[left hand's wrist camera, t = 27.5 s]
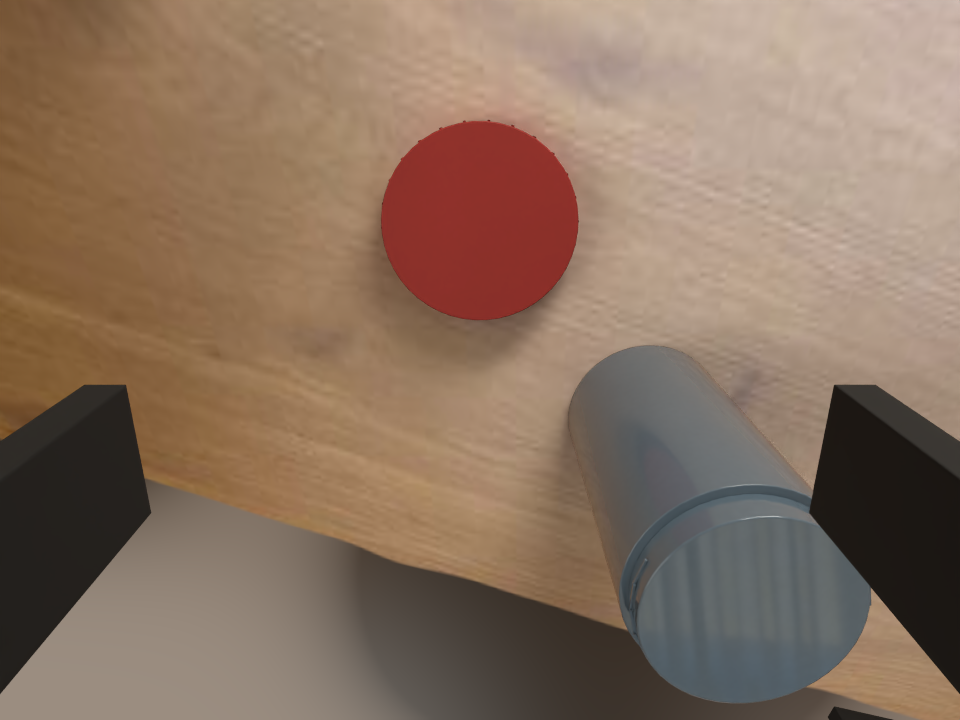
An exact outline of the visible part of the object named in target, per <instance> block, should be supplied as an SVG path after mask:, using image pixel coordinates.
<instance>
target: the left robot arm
mask: <svg viewBox="0 0 960 720" xmlns="http://www.w3.org/2000/svg"><path fill="white" fill-rule="evenodd" d="M150 514H151V510H150V505H149V500H148V494H147V489H146V484H145V479H144V474H143V469H142V464H141V459H140V454H139V449H138V444H137V439H136V434H135V429H134V424H133V419H132V413H131V408H130V403H129V398H128V393H127V388H126V385H84V386H82V387H81V388H79V389H78V390H76V391H75V392H73V393H72V394H70V395H69V396H67V397H66V398H64V399H63V400H61V401H60V402H58V403H57V404H55V405H54V406H52V407H51V408H49V409H48V410H47V411H45V412H44V413H42V414H41V415H39V416H38V417H36V418H35V419H33V420H32V421H30V422H29V423H27V424H26V425H24V426H23V427H21V428H20V429H18V430H17V431H15V432H14V433H12V434H11V435H9V436H8V437H6V438H5V439H3V440H2V441H0V694H1V692H2V691H3V690H4V689H5V688H6V686H7V685H8V684H9V683H10V682H11V680H12V679H13V678H14V677H15V676H16V674H17V673H18V672H19V671H20V670H21V668H22V667H23V666H24V665H25V664H26V662H27V661H28V660H29V659H30V658H31V656H32V655H33V654H34V653H35V652H36V650H37V649H38V648H39V647H40V646H41V644H42V643H43V642H44V641H45V640H46V638H47V637H48V636H49V635H50V634H51V632H52V631H53V630H54V629H55V628H56V626H57V625H58V624H59V623H60V622H61V620H62V619H63V618H64V617H65V616H66V614H67V613H68V612H69V611H70V610H71V608H72V607H73V606H74V605H75V604H76V602H77V601H78V600H79V599H80V598H81V596H82V595H83V594H84V593H85V592H86V590H87V589H88V588H89V587H90V586H91V584H92V583H93V582H94V581H95V580H96V578H97V577H98V576H99V575H100V574H101V572H102V571H103V570H104V569H105V568H106V566H107V565H108V564H109V563H110V562H111V560H112V559H113V558H114V557H115V556H116V554H117V553H118V552H119V551H120V550H121V548H122V547H123V546H124V545H125V544H126V542H127V541H128V540H129V539H130V538H131V536H132V535H133V534H134V533H135V532H136V530H137V529H138V528H139V527H140V526H141V524H142V523H143V522H144V521H145V520H146V518H147V517H148V516H149V515H150ZM809 514H810V515H811V516H812V517H813V519H814V520H815V521H816V522H817V523H818V525H819V526H820V527H821V528H822V529H823V530H824V532H825V533H826V534H827V535H828V536H829V538H830V539H831V540H832V541H833V542H834V544H835V545H836V546H837V547H838V548H839V550H840V551H841V552H842V553H843V554H844V556H845V557H846V558H847V559H848V560H849V562H850V563H851V564H852V565H853V566H854V568H855V569H856V570H857V571H858V572H859V574H860V575H861V576H862V577H863V578H864V580H865V581H866V582H867V583H868V584H869V586H870V587H871V588H872V589H873V590H874V592H875V593H876V594H877V595H878V596H879V598H880V599H881V600H882V601H883V602H884V604H885V605H886V606H887V607H888V608H889V610H890V611H891V612H892V613H893V614H894V616H895V617H896V618H897V619H898V620H899V622H900V623H901V624H902V625H903V626H904V628H905V629H906V630H907V631H908V632H909V634H910V635H911V636H912V637H913V638H914V640H915V641H916V642H917V643H918V644H919V646H920V647H921V648H922V649H923V650H924V652H925V653H926V654H927V655H928V656H929V658H930V659H931V660H932V661H933V662H934V664H935V665H936V666H937V667H938V668H939V670H940V671H941V672H942V673H943V674H944V676H945V677H946V678H947V679H948V680H949V682H950V683H951V684H952V685H953V686H954V688H955V689H956V690H957V691H958V692H959V694H960V441H958V440H957V439H955V438H954V437H952V436H951V435H949V434H948V433H946V432H945V431H943V430H942V429H940V428H939V427H937V426H936V425H934V424H933V423H931V422H930V421H928V420H927V419H925V418H924V417H922V416H921V415H919V414H918V413H916V412H915V411H913V410H912V409H911V408H909V407H908V406H906V405H905V404H903V403H902V402H900V401H899V400H897V399H896V398H894V397H893V396H891V395H890V394H888V393H887V392H885V391H884V390H882V389H881V388H879V387H878V386H876V385H834V388H833V393H832V398H831V403H830V408H829V413H828V419H827V424H826V429H825V434H824V439H823V444H822V449H821V454H820V459H819V464H818V469H817V474H816V479H815V484H814V489H813V494H812V500H811V505H810V510H809Z"/></svg>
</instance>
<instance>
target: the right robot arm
mask: <svg viewBox="0 0 960 720" xmlns="http://www.w3.org/2000/svg"><path fill="white" fill-rule="evenodd" d="M828 718H829V720H892V719H887V718H883V717H879V716H874V715H870V714H865V713H861V712H856V711H852V710H848V709H843V708H839V707H834V708H833V709H832V711H831V713H830V714H829V716H828Z"/></svg>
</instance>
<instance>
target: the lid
mask: <svg viewBox="0 0 960 720" xmlns="http://www.w3.org/2000/svg"><path fill="white" fill-rule="evenodd" d="M439 129H440V130H438V131H436V132H434V133H432V134H431V135H429V136H427V137H426V138H424V139H423V140H419V141H418V142H419V143H418V144H417V145H415V146H414V147H413V148H412V149H411V150H410V151H409V152H408V153H407V154H406V155H405V157H403V158H401V162H400V163H399V165H398V166H397V168H396V169H395V171H394V173H393V175H392V177H391V178H390V179H389V183H388V186H387V189H386V192H385V196H384V200H383V203H382V216H381V224H382V227H381V229H382V236H383V241H384V246H385V249H386V252H387V255H388V258H389V260H390V262H391V264H392V267H393V269H394V270H395V272H396V273H397V275H398V277H399V278H400V280H401V281H402V282H403V283H404V285H405V286H406V287H407V288H408V289H409V290H410V291H411V292H412V293H413V294H414V295H415V296H416V297H417V298H418V299H420V300H421V301H423V302H424V303H425V304H427V305H428V306H430V307H432V308H434V309H436V310H438V311H440V312H442V313H445V314H447V315H450V316H454V317H458V318H462V319H470V320H490V319H498V318H502V317H506V316H509V315H512V314H515V313H517V312H520V311H522V310H524V309H526V308H528V307H529V306H531V305H533V304H534V303H536V302H537V301H538V300H540V299H541V298H542V297H544V296H545V295H546V294H547V293H548V292H549V291H550V290H551V289H552V288H553V287H554V285H555V284H556V283H557V282H558V280H559V279H560V278H561V276H562V274H563V273H564V271H565V270H566V268H567V266H568V264H569V261H570V259H571V257H572V254H573V251H574V248H575V245H576V239H577V233H578V222H579V220H578V209H577V202H576V196H575V193H574V190H573V187H572V185H571V182H570V179H569V178H568V173H566V172H565V170H564V168H563V167H562V165H561V164H560V162H559V161H558V160H557V158H556V157H555V156H554V155H555V154H554V153H552V152H550V150H549V149H548V148H547V147H545V146H544V145H543V144H542V143H541V142H539V141H538V140H537V139H536V137H535V136H533V137H532V136H531V135H529V134H527V133H526V132H524V131H521V130H519V129H517V128H514V125H511V126H508V125H505V124H501V123H496V122H490V120H488V121H471V122H466V121H463V123H458V124H455V125H451V126H448V127H445V128H442V127H441V128H439Z"/></svg>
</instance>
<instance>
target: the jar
mask: <svg viewBox="0 0 960 720" xmlns="http://www.w3.org/2000/svg"><path fill="white" fill-rule="evenodd" d="M569 431H570V435H571V439H572V442H573V446H574V449H575V453H576V456H577V460H578V463H579V467H580V470H581V474H582V477H583V481H584V484H585V488H586V491H587V495H588V498H589V502H590V505H591V509H592V512H593V516H594V519H595V523H596V526H597V530H598V533H599V537H600V540H601V544H602V547H603V551H604V554H605V558H606V561H607V565H608V568H609V572H610V575H611V579H612V582H613V586H614V589H615V593H616V596H617V600H618V603H619V607H620V610H621V614H622V617H623V620H624V622H625V625H626V627H627V629H628V631H629V633H630V634H631V636H632V637H633V639H634V640H635V641H636V643H637V644H638V645H639V646H640V647H641V649H642V651H643V653H644V655H645V657H646V658H647V660H648V661H649V663H650V664H651V666H652V667H653V668H654V669H655V670H656V672H657V673H658V674H659V675H660V676H661V677H663V678H664V679H665V680H666V681H667V682H669V683H670V684H672V685H673V686H675V687H676V688H678V689H680V690H682V691H684V692H686V693H688V694H690V695H693V696H696V697H699V698H702V699H706V700H711V701H716V702H724V703H752V702H760V701H765V700H770V699H775V698H778V697H781V696H785V695H788V694H791V693H793V692H795V691H798V690H800V689H802V688H804V687H806V686H808V685H810V684H812V683H814V682H815V681H817V680H818V679H820V678H821V677H823V676H824V675H826V674H827V673H828V672H830V671H831V670H832V669H833V668H834V667H836V666H837V665H838V664H839V663H840V662H841V661H842V660H843V659H844V658H845V657H846V655H847V654H848V653H849V652H850V650H851V649H852V648H853V646H854V645H855V644H856V642H857V640H858V638H859V637H860V635H861V633H862V631H863V628H864V626H865V623H866V621H867V617H868V612H869V607H870V606H871V587H870V586H869V584H868V583H867V582H866V581H865V580H864V578H863V577H862V576H861V575H860V574H859V572H858V571H857V570H856V569H855V568H854V566H853V565H852V564H851V563H850V562H849V560H848V559H847V558H846V557H845V556H844V554H843V553H842V552H841V551H840V550H839V548H838V547H837V546H836V545H835V544H834V542H833V541H832V540H831V539H830V538H829V536H828V535H827V534H826V533H825V532H824V530H823V529H822V528H821V527H820V526H819V525H818V523H817V522H816V521H815V520H814V519H813V517H812V516H811V515H810V514H809V510H810V505H811V500H812V494H813V489H812V488H811V487H810V486H809V485H808V484H807V483H806V481H805V480H804V479H803V478H802V477H801V476H800V475H799V474H798V472H797V471H796V470H795V469H794V468H793V467H792V466H791V465H790V464H789V462H788V461H787V460H786V459H785V458H784V457H783V456H782V455H781V454H780V452H779V451H778V450H777V449H776V448H775V447H774V446H773V445H772V444H771V442H770V441H769V440H768V439H767V438H766V437H765V436H764V435H763V433H762V432H761V431H760V430H759V429H758V428H757V427H756V426H755V425H754V423H753V422H752V421H751V420H750V419H749V418H748V417H747V416H746V415H745V413H744V412H743V411H742V410H741V409H740V408H739V407H738V406H737V404H736V403H735V402H734V401H733V400H732V399H731V398H730V397H729V396H728V394H727V393H726V392H725V391H724V390H723V389H722V388H721V387H720V386H719V384H718V383H717V382H716V381H715V380H714V379H713V378H712V377H711V376H710V374H709V373H708V372H707V371H706V370H705V369H704V368H703V367H702V366H701V365H700V364H699V363H698V362H697V361H695V360H694V359H693V358H691V357H690V356H688V355H686V354H684V353H683V352H680V351H677V350H675V349H671V348H667V347H662V346H639V347H632V348H629V349H625V350H622V351H619V352H617V353H614V354H612V355H611V356H609V357H607V358H605V359H604V360H602V361H601V362H599V363H598V364H597V365H595V366H594V367H593V368H592V369H591V370H590V371H589V372H588V373H587V374H586V375H585V377H584V378H583V379H582V381H581V382H580V384H579V385H578V387H577V389H576V391H575V393H574V395H573V398H572V401H571V404H570V409H569Z"/></svg>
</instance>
